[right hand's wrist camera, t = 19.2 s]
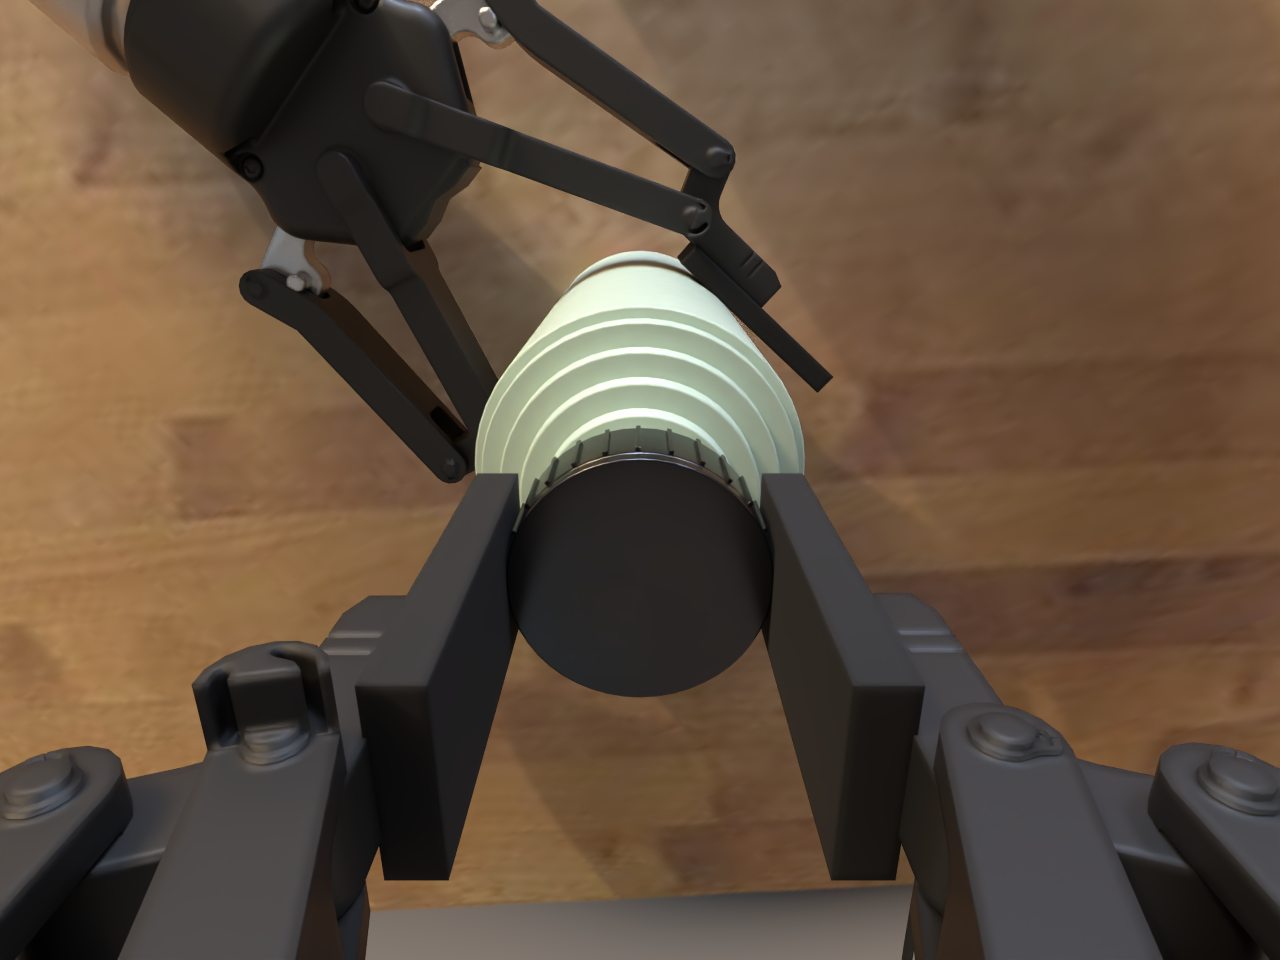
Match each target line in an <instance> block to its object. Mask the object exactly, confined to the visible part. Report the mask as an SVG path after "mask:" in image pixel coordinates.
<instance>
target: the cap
mask: <svg viewBox="0 0 1280 960" xmlns="http://www.w3.org/2000/svg"><path fill="white" fill-rule="evenodd" d="M765 532H768V530H767V527H766V525H765V522H764V520H763V517H762V514H761V512H760V509H759V506H758V504H757V501H756V500H755V501H753V500H752V497H751V494H750V492H749V489H748V486H747V483H746V481H745V478H744V477H743V476H741V477H739V475H738V474H737V473H736V471H735V470H734V469H733V468H732V467H731V466H730V465H729V464H728V463H727V460H726V457H725V456H724V455H723V454H722V455H721V456H719V455H718V454H717V453H716V452H714V451H713V450H711V449H710V448H708V447H706V446H705V445H703V444H702V443H701V440H700V439H698V438H696V440H693V439H691V438H689V437H686V436H683V435H680V434H677V433H674V432H672V429H668V428H667V431H665V430H660V429H650V428H641V426H640V425H639V426H636V428H629V429H620V430H615V431H610V429H607V430H605V433H603V434H599V435H596V436H593V437H591V438H589V439H587V440H584V441H581V440H578V441H577V442H576V445H575V446H573V447H572V448H570V449H569V450H567V451H566V452H564V453H563V454H562V455H560V456H559V457H558V458H557V457H556V456H555V457H554V458H552V461H551V464H550V466H549V467H548V468H547V469H546V470H545V471H544V472H543V474H542V475H541V476H540V478H539V479H537V478H535V479H534V481H533V484H532V486H531V489H530V492H529V494H528V497H527V500H526V502H525V503H522V506H521V508H520V511H519V514H518V516H517V519H516V522H515V524H514V527H513V530H512V532H511V535H514V537H513V540H512V544H511V547H510V550H509V553H508V560H507V566H506V582H507V594H508V601H509V604H510V608H511V611H512V615H513V617H514V619H515V621H516V624H517V626H518V628H519V630H520V632H521V633H522V635H523V636H524V638H525V639H526V641H527V643H528V644H529V645H530V646H531V648H532V649H533V650H534V651H535V652H536V653H537V655H538V656H539V657H540V658H542V659H543V660H544V661H545V662H546V663H547V664H548V665H549V666H550V667H552V668H553V669H555V670H556V671H557V672H559V673H560V674H561V675H563V676H565V677H567V678H568V679H570V680H572V681H574V682H576V683H578V684H580V685H583V686H585V687H588V688H590V689H593V690H596V691H600V692H603V693H607V694H613V695H619V696H627V697H653V696H661V695H667V694H673V693H676V692H680V691H683V690H687V689H690V688H692V687H695V686H697V685H700V684H702V683H704V682H706V681H708V680H710V679H711V678H713V677H715V676H717V675H718V674H720V673H721V672H722V671H724V670H725V669H727V668H728V667H729V666H731V665H732V664H733V663H734V662H735V661H736V660H737V659H738V658H739V657H740V656H741V655H742V654H743V653H744V652H745V651H746V650H747V648H748V647H749V646H750V645H751V644H752V642H753V641H754V639H755V638H756V636H757V634H758V633H759V631H760V630H761V628H762V625H763V623H764V621H765V619H766V616H767V614H768V610H769V607H770V604H771V600H772V593H773V579H774V568H773V561H772V555H771V551H770V548H769V544H768V541H767V538H766V535H765Z"/></svg>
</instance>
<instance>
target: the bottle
mask: <svg viewBox="0 0 1280 960" xmlns="http://www.w3.org/2000/svg"><path fill="white" fill-rule="evenodd" d="M639 425H640V426H641V428H650V429H660V430H665V431H667V428H668V429H672V432H674V433H677V434H680V435H683V436H686V437H689V438H691V439H693V440H696V438H698V439H700V440H701V443H702V444H703V445H705V446H706V447H708V448H710V449H711V450H713V451H714V452H716V453H717V454H718V455H719V456H721V455H722V454H723V455H724V456H725V457H726V460H727V463H728V464H729V465H730V466H731V467H732V468H733V469H734V470H735V471H736V473H737V474H738V475H739V477H741V476H743V477H744V478H745V481H746V483H747V486H748V489H749V492H750V494H751V497H752V500H753V501H755V500H756V501H757V504H758V506H759V509H760V495H761V478H762V473H803V475H804V467H805V454H804V441H803V435H802V431H801V426H800V422H799V418H798V415H797V413H796V410H795V407H794V405H793V402H792V399H791V398H790V396H789V394H788V392H787V390H786V388H785V386H784V385H783V383H782V381H781V380H780V378H779V377H778V376H777V374H776V373H775V371H774V370H773V369H772V367H771V366H770V365H769V363H768V362H767V361H766V359H765V358H764V357H763V355H762V354H761V353H760V351H759V350H758V349H757V347H756V346H755V345H754V343H753V342H752V341H751V339H750V338H749V337H748V335H747V334H746V333H745V331H744V330H743V329H742V327H741V326H740V325H739V323H738V322H737V321H736V319H735V318H734V317H733V315H732V314H731V313H730V311H729V310H728V309H727V307H726V306H725V305H724V304H723V303H722V302H721V301H720V300H719V299H718V298H717V297H716V296H715V295H714V294H713V293H712V292H711V291H709V290H708V289H707V288H706V287H705V286H704V285H703V284H702V283H701V282H700V281H699V280H698V279H697V278H696V277H695V276H694V275H693V274H691V273H690V272H689V271H688V270H687V269H686V268H685V267H684V266H683V265H682V264H681V263H680V261H679V260H678V259H675V258H673V257H670V256H668V255H664V254H660V253H656V252H648V251H631V252H625V253H619V254H616V255H612V256H609V257H607V258H605V259H602V260H600V261H598V262H596V263H595V264H593V265H592V266H590V267H588V268H587V269H586V270H585V271H583V272H582V273H581V274H580V275H579V276H578V277H577V278H576V279H575V280H574V281H573V282H572V283H571V284H570V286H569V287H568V288H567V290H566V291H565V292H564V294H563V295H562V296H561V298H560V299H559V300H558V302H557V303H556V304H555V306H554V307H553V308H552V310H551V311H550V312H549V314H548V315H547V316H546V318H545V319H544V320H543V322H542V323H541V324H540V326H539V327H538V328H537V330H536V331H535V332H534V334H533V335H532V336H531V337H530V339H529V340H528V341H527V343H526V344H525V345H524V347H523V348H522V349H521V351H520V352H519V353H518V355H517V356H516V357H515V359H514V360H513V361H512V363H511V364H510V365H509V367H508V368H507V370H506V371H505V372H504V374H503V375H502V377H501V378H500V380H499V381H498V383H497V384H496V386H495V388H494V390H493V392H492V394H491V396H490V398H489V400H488V402H487V403H486V406H485V409H484V412H483V415H482V418H481V421H480V424H479V430H478V435H477V440H476V450H475V471H476V475H477V473H518V479H519V496H520V508H521V506H522V503H525V502H526V500H527V497H528V494H529V492H530V489H531V486H532V484H533V481H534V479H535V478H537V479H539V478H540V476H541V475H542V474H543V472H544V471H545V470H546V469H547V468H548V467H549V466H550V464H551V461H552V458H554V457H555V456H556V457H557V458H558V457H559V456H560V455H562V454H563V453H564V452H566V451H567V450H569V449H570V448H572V447H573V446H575V445H576V442H577V441H578V440H581V441H584V440H587V439H589V438H591V437H593V436H596V435H599V434H603V433H605V430H607V429H610V431H615V430H620V429H629V428H636V426H639Z"/></svg>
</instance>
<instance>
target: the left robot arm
mask: <svg viewBox="0 0 1280 960" xmlns="http://www.w3.org/2000/svg"><path fill="white" fill-rule="evenodd" d="M29 1H30V2H31V3H33V4H34V5H35V6H36V7H37V8H39V9H40V10H41V11H42V12H43V13H44V14H46V15H47V16H48V17H49V18H50V19H52V20H53V21H54V22H55V23H56V24H58V25H59V26H60V27H61V28H62V29H63V30H65V31H66V32H67V33H68V34H69V35H71V36H72V37H73V38H74V39H75V40H76V41H78V42H79V43H80V44H81V45H82V46H84V47H85V48H86V49H87V50H88V51H90V52H91V53H92V54H93V55H94V56H95V57H97V58H98V59H99V60H100V61H101V62H103V63H104V64H105V65H106V66H107V67H109V68H110V69H111V70H112V71H115V72H117V73H120V74H122V75H125V76H130V77H131V80H132V82H133V84H134V86H135V87H136V89H137V90H138V91H139V92H140V93H141V94H142V95H143V96H144V97H145V98H146V99H148V100H149V101H150V102H151V103H152V104H154V105H155V106H156V107H157V108H158V109H160V110H161V111H162V112H163V113H164V114H166V115H167V116H168V117H169V118H170V119H172V120H173V121H174V122H175V123H176V124H178V125H179V126H180V127H181V128H182V129H184V130H185V131H186V132H187V133H188V134H190V135H191V136H192V137H193V138H194V139H196V140H197V141H198V142H199V143H200V144H202V145H203V146H204V147H205V148H206V149H208V150H209V151H210V152H211V153H212V154H214V155H215V156H216V157H217V158H218V159H220V160H221V161H222V162H223V163H224V164H226V165H227V166H228V167H229V168H231V169H232V170H233V171H234V172H236V173H237V174H238V175H240V176H241V177H242V178H243V179H245V180H246V181H247V182H248V183H250V184H251V185H252V186H253V187H254V188H255V190H256V191H257V192H258V194H259V195H260V196H261V198H262V199H263V201H264V203H265V205H266V207H267V209H268V211H269V213H270V215H271V217H272V219H273V220H274V222H275V223H276V224H277V228H276V230H275V232H274V235H273V237H272V240H271V242H270V244H269V247H268V249H267V251H266V254H265V256H264V259H263V261H262V263H261V266H260V267H259V269H256V270H251V271H248V272H246V273H244V274H243V276H242V277H241V278H240V282H239V289H240V293H241V295H242V296H243V298H244V300H246V301H247V302H248V303H249V304H251V305H253V306H254V307H256V308H258V309H260V310H262V311H263V312H265V313H267V314H269V315H271V316H272V317H274V318H276V319H278V320H280V321H281V322H283V323H285V324H287V325H288V326H290V327H292V328H294V329H296V330H297V331H298V332H299V333H300V334H301V335H302V336H303V337H304V338H305V339H306V340H307V341H308V342H309V343H310V344H311V345H312V346H313V348H314V349H315V350H316V351H317V352H318V353H319V354H320V355H321V356H322V357H323V358H324V359H325V360H326V361H327V362H328V363H329V364H330V365H331V366H332V367H333V368H334V370H335V371H336V372H337V373H338V374H339V375H340V376H341V377H342V378H343V379H344V380H345V381H346V382H347V383H348V384H349V385H350V386H351V387H352V388H353V389H354V391H355V392H356V393H357V394H358V395H359V396H360V397H361V398H362V399H363V400H364V401H365V402H366V403H367V404H368V405H369V406H370V407H371V408H372V409H373V410H374V411H375V413H376V414H377V415H378V416H379V417H380V418H381V419H382V420H383V421H384V422H385V423H386V424H387V425H388V426H389V427H390V428H391V429H392V430H393V431H394V432H395V433H396V435H397V436H398V437H399V438H400V439H401V440H402V441H403V442H404V443H405V444H406V445H407V446H408V447H409V448H410V449H411V450H412V451H413V452H414V453H415V454H416V455H417V457H418V458H419V459H420V460H421V461H422V462H423V463H424V464H425V465H426V466H427V467H428V468H429V469H430V470H431V471H432V472H433V473H434V474H435V475H436V476H437V478H439V479H440V480H441V481H443V482H446V483H456V482H458V481H460V480H462V478H463V477H464V476H465V475H466V474H468V473H470V472H472V471H474V470H475V450H476V440H477V435H478V430H479V424H480V421H481V418H482V415H483V412H484V409H485V406H486V403H487V402H488V400H489V398H490V396H491V394H492V392H493V390H494V388H495V386H496V384H497V383H498V379H497V377H496V375H495V373H494V371H493V370H492V368H491V366H490V364H489V362H488V360H487V358H486V357H485V355H484V353H483V351H482V349H481V347H480V346H479V344H478V342H477V340H476V338H475V336H474V334H473V333H472V331H471V329H470V327H469V325H468V323H467V321H466V320H465V318H464V316H463V314H462V312H461V310H460V309H459V307H458V305H457V303H456V301H455V299H454V297H453V296H452V294H451V292H450V290H449V288H448V286H447V285H446V283H445V281H444V279H443V277H442V275H441V273H440V271H439V268H438V262H437V259H436V257H435V255H434V253H433V251H432V249H431V247H430V246H429V244H428V242H427V240H426V238H428V237H429V236H430V235H431V234H432V232H433V231H434V230H435V228H436V227H437V226H438V224H439V223H440V222H441V220H442V217H443V215H444V212H445V210H446V207H447V205H448V202H449V200H450V199H451V198H452V197H453V196H455V195H456V194H458V193H459V192H460V191H462V190H463V189H464V188H466V187H467V186H468V185H469V184H470V183H471V181H472V180H473V179H474V177H475V176H476V175H477V174H478V172H479V171H480V170H481V167H480V166H479V164H480V162H483V163H486V164H488V165H491V166H494V167H497V168H500V169H503V170H506V171H509V172H512V173H515V174H517V175H520V176H523V177H526V178H528V179H531V180H534V181H537V182H539V183H542V184H545V185H548V186H550V187H553V188H556V189H559V190H561V191H564V192H567V193H570V194H572V195H575V196H578V197H581V198H583V199H586V200H589V201H592V202H595V203H597V204H600V205H603V206H606V207H608V208H611V209H614V210H617V211H619V212H622V213H625V214H628V215H630V216H633V217H636V218H639V219H641V220H644V221H647V222H650V223H652V224H655V225H658V226H661V227H663V228H666V229H669V230H672V231H674V232H677V233H680V234H683V235H684V236H685V237H686V238H687V239H688V240H689V241H690V243H689V244H688V245H687V246H686V248H685V249H684V250H683V251H682V252H681V253H680V254H679V255H678V257H677V258H678V259H679V261H680V263H681V264H682V265H683V266H684V267H685V268H686V269H687V270H688V271H689V272H690V273H691V274H693V275H694V276H695V277H696V278H697V279H698V280H699V281H700V282H701V283H702V284H703V285H704V286H705V287H706V288H707V289H708V290H709V291H711V292H712V293H713V294H714V295H715V296H716V297H717V298H718V299H719V300H720V301H721V302H722V303H723V304H724V305H725V306H726V307H727V308H728V309H730V310H731V311H732V312H733V313H734V314H735V315H736V316H737V317H738V318H739V319H740V320H741V321H742V322H743V323H744V324H745V325H746V326H747V327H749V328H750V329H751V330H752V331H753V332H754V333H755V334H756V335H757V336H758V337H759V338H760V339H761V340H762V341H763V342H764V343H765V344H766V345H768V346H769V347H770V348H771V349H772V350H773V351H774V352H775V353H776V354H777V355H778V356H779V357H780V358H781V359H782V360H783V361H784V362H785V363H787V364H788V365H789V366H790V367H791V368H792V369H793V370H794V371H795V372H796V373H797V374H798V375H799V376H800V377H801V378H802V379H803V380H805V381H806V382H807V383H808V384H809V385H810V386H811V387H812V388H813V389H814V390H815V391H816V392H817V393H818V392H819V391H820V390H821V389H822V388H823V387H824V386H825V385H826V384H827V383H828V382H829V381H830V380H831V379H832V378H833V376H832V375H831V374H830V373H829V372H828V371H827V370H825V369H824V368H823V367H822V366H821V365H820V364H819V363H818V362H817V361H816V360H815V359H814V358H813V357H812V356H811V355H810V354H809V353H808V352H807V351H806V350H805V349H804V348H803V347H802V346H800V345H799V344H798V343H797V342H796V341H795V340H794V339H793V338H792V337H791V336H790V335H789V334H788V333H787V332H786V331H785V330H784V329H783V328H782V327H781V326H780V325H779V324H778V323H777V322H775V321H774V320H773V319H772V318H771V317H770V316H769V315H768V314H767V313H766V312H765V311H764V310H763V309H762V307H763V306H764V305H765V304H766V303H767V301H768V300H769V299H770V298H771V297H772V296H773V295H774V294H775V293H776V292H777V291H778V290H779V289H780V288H781V285H780V282H779V280H778V277H777V275H776V273H775V271H774V270H773V269H772V268H771V267H770V266H769V265H768V264H766V263H765V262H764V261H763V260H762V259H761V258H760V257H759V256H758V255H757V254H756V253H755V252H754V251H753V250H752V249H751V248H750V247H749V246H748V245H747V244H746V243H745V242H744V241H743V240H742V239H741V238H740V237H739V236H738V235H737V234H736V233H735V232H734V231H733V230H732V229H731V228H730V227H729V226H728V225H727V224H726V223H725V222H724V221H723V219H722V217H721V215H720V212H719V199H720V196H721V193H722V191H723V188H724V186H725V183H726V181H727V178H728V176H729V174H730V172H731V170H732V169H733V167H734V164H735V159H736V154H735V151H734V148H733V146H732V145H731V144H730V143H729V142H728V141H727V140H726V139H724V138H723V137H722V136H720V135H719V134H717V133H716V132H715V131H713V130H712V129H710V128H709V127H708V126H706V125H705V124H704V123H702V122H701V121H699V120H698V119H697V118H695V117H694V116H692V115H691V114H690V113H688V112H687V111H685V110H684V109H683V108H681V107H680V106H678V105H677V104H676V103H674V102H673V101H672V100H670V99H669V98H667V97H666V96H665V95H663V94H662V93H660V92H659V91H658V90H656V89H655V88H653V87H652V86H651V85H649V84H648V83H647V82H645V81H644V80H642V79H641V78H640V77H638V76H637V75H635V74H634V73H633V72H631V71H630V70H628V69H627V68H626V67H624V66H623V65H621V64H620V63H619V62H617V61H616V60H615V59H613V58H612V57H610V56H609V55H608V54H606V53H605V52H603V51H602V50H601V49H599V48H598V47H596V46H595V45H594V44H592V43H591V42H590V41H588V40H587V39H585V38H584V37H583V36H581V35H580V34H578V33H577V32H576V31H574V30H573V29H571V28H570V27H569V26H567V25H566V24H565V23H563V22H562V21H560V20H559V19H558V18H556V17H555V16H553V15H552V14H551V13H549V12H548V11H546V10H545V9H544V8H542V7H541V6H539V5H538V3H537V2H536V1H535V0H437V1H436V2H435V3H434V4H433V5H432V6H431V7H430V8H429V7H427V6H425V5H423V4H420V3H417V2H412V1H408V0H29ZM469 36H470V37H476V38H479V39H481V40H482V41H483V42H484V43H486V44H487V45H488V46H489V47H491V48H494V49H503V48H506V47H507V46H509V45H510V44H511V43H513V42H514V41H516V42H517V43H518V44H519V46H520V47H521V48H522V49H523V50H524V51H525V52H526V53H527V54H528V55H530V56H531V57H532V58H533V59H534V60H536V61H537V62H538V63H539V64H541V65H542V66H543V67H545V68H546V69H548V70H549V71H550V72H552V73H553V74H555V75H556V76H558V77H559V78H560V79H562V80H563V81H565V82H566V83H567V84H569V85H570V86H572V87H573V88H575V89H576V90H577V91H579V92H580V93H582V94H583V95H585V96H586V97H587V98H589V99H590V100H592V101H593V102H595V103H596V104H597V105H599V106H600V107H602V108H603V109H604V110H606V111H607V112H609V113H610V114H612V115H613V116H614V117H616V118H617V119H619V120H620V121H622V122H623V123H624V124H626V125H627V126H629V127H630V128H632V129H633V130H634V131H636V132H637V133H639V134H640V135H641V136H643V137H644V138H646V139H647V140H649V141H650V142H651V143H653V144H654V145H656V146H657V147H659V148H660V149H661V150H663V151H664V152H666V153H667V154H669V155H670V156H671V157H673V158H674V159H676V160H677V161H678V162H680V163H681V164H683V165H684V166H686V167H687V168H688V169H689V171H688V173H687V176H686V179H685V181H684V184H683V186H682V189H681V191H677V190H674V189H671V188H669V187H666V186H663V185H661V184H658V183H655V182H652V181H650V180H647V179H644V178H642V177H639V176H636V175H634V174H631V173H628V172H625V171H623V170H620V169H617V168H615V167H612V166H609V165H606V164H604V163H601V162H598V161H596V160H593V159H590V158H588V157H585V156H582V155H579V154H577V153H574V152H571V151H569V150H566V149H563V148H560V147H558V146H555V145H552V144H550V143H547V142H544V141H542V140H539V139H536V138H533V137H531V136H528V135H525V134H523V133H520V132H517V131H515V130H512V129H509V128H507V127H504V126H502V125H499V124H496V123H494V122H491V121H488V120H486V119H483V118H480V117H477V116H476V112H475V108H474V104H473V101H472V97H471V93H470V89H469V85H468V81H467V78H466V74H465V70H464V66H463V62H462V58H461V55H460V51H459V47H458V43H457V42H458V41H459V40H461V39H462V38H465V37H469ZM315 241H321V242H330V243H340V244H349V245H357V246H358V247H359V249H360V251H361V253H362V254H363V256H364V258H365V260H366V261H367V263H368V265H369V267H370V268H371V270H372V272H373V274H374V275H375V277H376V279H377V280H378V282H379V283H380V285H381V286H382V287H383V288H384V289H386V290H387V291H388V292H389V293H390V294H391V296H392V297H393V299H394V301H395V302H396V304H397V306H398V308H399V309H400V311H401V313H402V315H403V316H404V318H405V320H406V322H407V323H408V325H409V327H410V329H411V330H412V332H413V334H414V336H415V338H416V339H417V341H418V343H419V345H420V346H421V348H422V350H423V352H424V353H425V355H426V357H427V359H428V360H429V362H430V364H431V366H432V367H433V369H434V371H435V373H436V374H437V376H438V378H439V380H440V382H441V383H442V385H443V387H444V389H445V390H446V392H447V394H448V396H449V397H450V399H451V401H452V403H453V404H454V406H455V408H456V410H457V411H458V413H459V415H460V417H461V418H462V420H463V422H464V424H465V426H466V427H467V429H468V430H467V429H466V428H465V427H464V426H463V425H462V423H461V422H460V421H459V420H458V419H457V418H456V417H455V416H454V415H453V414H452V413H451V411H450V410H449V409H448V408H447V407H446V406H445V405H444V404H443V403H442V402H441V401H440V400H439V398H438V397H437V396H436V395H435V394H434V393H433V392H432V391H431V390H430V389H429V388H428V386H427V385H426V384H425V383H424V382H423V381H422V380H421V379H420V378H419V377H418V376H417V374H416V373H415V372H414V371H413V370H412V369H411V368H410V367H409V366H408V365H407V364H406V362H405V361H404V360H403V359H402V358H401V357H400V356H399V355H398V354H397V353H396V352H395V351H394V349H393V348H392V347H391V346H390V345H389V344H388V343H387V342H386V341H385V340H384V339H383V337H382V336H381V335H380V334H379V333H378V332H377V331H376V330H375V329H374V328H373V327H372V325H371V324H370V323H369V322H368V321H367V320H366V319H365V318H364V317H363V316H362V315H361V313H360V312H359V311H358V310H357V309H356V308H355V307H354V306H353V305H352V304H351V303H350V302H349V301H348V300H347V299H345V298H344V297H343V296H342V295H340V294H339V293H338V292H337V291H335V290H334V289H332V288H331V287H330V285H331V276H330V273H329V271H328V270H327V268H326V267H325V266H324V265H323V264H322V263H321V262H319V260H318V259H317V257H316V255H315V252H314V243H315Z"/></svg>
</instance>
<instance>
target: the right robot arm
mask: <svg viewBox="0 0 1280 960" xmlns="http://www.w3.org/2000/svg"><path fill="white" fill-rule="evenodd" d="M519 511H520V496H519V479H518V473H477V475H476V477H475V478H474V480H473V482H472V483H471V485H470V487H469V489H468V490H467V492H466V494H465V496H464V497H463V499H462V501H461V502H460V504H459V506H458V508H457V509H456V511H455V513H454V515H453V516H452V518H451V520H450V521H449V523H448V525H447V527H446V528H445V530H444V532H443V534H442V535H441V537H440V539H439V541H438V542H437V544H436V546H435V547H434V549H433V551H432V553H431V554H430V556H429V558H428V560H427V561H426V563H425V565H424V566H423V568H422V570H421V572H420V573H419V575H418V577H417V579H416V580H415V582H414V584H413V585H412V587H411V589H410V591H409V592H408V594H407V596H368V597H367V598H365V599H364V600H362V601H361V602H359V603H358V604H356V605H355V606H353V607H352V608H350V609H349V610H347V611H346V612H344V613H343V614H342V616H341V617H340V619H339V620H338V621H337V623H336V624H335V626H334V627H333V629H332V630H331V631H330V633H329V638H325V640H324V641H323V643H322V644H321V646H320V647H318V646H317V645H312V644H308V643H304V642H300V641H277V642H270V643H265V644H261V645H256V646H251V647H248V648H245V649H243V650H240V651H237V652H235V653H232V654H230V655H227V656H225V657H223V658H222V659H220V660H218V661H217V662H215V663H214V664H212V665H211V666H209V667H208V668H206V669H204V670H203V672H202V673H201V674H200V675H199V676H198V677H197V679H196V680H195V681H194V682H193V683H192V688H193V692H194V696H195V700H196V705H197V709H198V713H199V717H200V721H201V725H202V729H203V733H204V738H205V742H206V746H207V750H208V751H207V753H206V756H205V758H204V760H203V762H200V763H197V764H193V765H190V766H186V767H182V768H177V769H173V770H168V771H163V772H159V773H154V774H149V775H144V776H140V777H135V778H130V779H126V777H125V773H124V770H123V766H122V763H121V760H120V758H119V757H118V756H116V755H115V754H114V753H113V752H112V751H110V750H109V749H104V748H98V747H92V746H83V747H74V748H65V749H59V750H56V751H51V752H48V753H46V754H41V755H38V756H35V757H32V758H29V759H27V760H26V761H24V762H22V763H20V764H18V765H16V766H14V767H12V768H10V769H8V770H5V771H3V772H1V773H0V960H365V956H366V946H367V937H368V928H369V919H370V906H369V899H368V892H367V886H366V877H367V875H368V872H369V870H370V867H371V865H372V862H373V860H374V857H375V855H376V852H377V850H378V847H379V848H380V855H381V861H382V868H383V874H384V880H449V877H450V873H451V870H452V866H453V863H454V859H455V855H456V852H457V848H458V845H459V841H460V838H461V834H462V830H463V827H464V823H465V820H466V816H467V812H468V809H469V805H470V802H471V798H472V794H473V791H474V787H475V784H476V780H477V776H478V773H479V769H480V766H481V762H482V758H483V755H484V751H485V748H486V744H487V740H488V737H489V733H490V730H491V726H492V722H493V719H494V715H495V712H496V708H497V704H498V701H499V697H500V694H501V690H502V686H503V683H504V679H505V676H506V672H507V668H508V665H509V661H510V658H511V654H512V650H513V647H514V643H515V640H516V636H517V632H518V629H519V628H518V626H517V624H516V621H515V619H514V617H513V615H512V611H511V608H510V604H509V601H508V594H507V582H506V566H507V560H508V553H509V550H510V547H511V544H512V540H513V537H514V535H511V532H512V530H513V527H514V524H515V522H516V519H517V516H518V514H519ZM760 512H761V514H762V517H763V520H764V522H765V525H766V527H767V530H768V532H765V535H766V538H767V541H768V544H769V548H770V551H771V555H772V561H773V568H774V579H773V593H772V600H771V604H770V607H769V610H768V614H767V616H766V619H765V621H764V623H763V625H762V628H761V629H762V633H763V636H764V640H765V644H766V647H767V651H768V654H769V658H770V662H771V665H772V669H773V672H774V676H775V680H776V683H777V687H778V690H779V694H780V698H781V701H782V705H783V708H784V712H785V716H786V719H787V723H788V726H789V730H790V733H791V737H792V741H793V744H794V748H795V751H796V755H797V759H798V762H799V766H800V769H801V773H802V777H803V780H804V784H805V787H806V791H807V795H808V798H809V802H810V805H811V809H812V813H813V816H814V820H815V823H816V827H817V831H818V834H819V838H820V841H821V845H822V849H823V852H824V856H825V859H826V863H827V867H828V870H829V874H830V877H831V880H896V873H897V867H898V861H899V854H900V848H901V843H902V846H903V848H904V851H905V853H906V856H907V858H908V861H909V863H910V866H911V868H912V871H913V873H914V876H915V880H914V886H913V893H912V899H911V904H910V910H909V916H908V923H907V929H906V935H905V941H904V947H903V954H902V960H912V959H913V953H914V954H915V960H1280V769H1279V768H1277V767H1275V766H1273V765H1270V764H1268V763H1266V762H1264V761H1262V760H1260V759H1258V758H1256V757H1255V756H1253V755H1250V754H1248V753H1245V752H1242V751H1239V750H1237V751H1236V750H1233V749H1232V748H1228V747H1223V746H1220V745H1211V744H1202V743H1193V742H1192V743H1186V744H1180V745H1174V746H1171V747H1170V748H1169V749H1168V750H1166V751H1165V752H1164V753H1163V754H1162V755H1161V756H1160V759H1159V763H1158V766H1157V769H1156V773H1155V776H1152V775H1147V774H1142V773H1137V772H1133V771H1128V770H1123V769H1118V768H1114V767H1109V766H1104V765H1099V764H1095V763H1092V762H1088V761H1084V760H1081V759H1077V758H1076V757H1075V754H1074V752H1073V750H1072V748H1071V747H1070V746H1069V744H1068V743H1067V741H1066V740H1065V739H1064V737H1063V736H1062V735H1061V733H1059V732H1058V731H1057V730H1055V729H1054V728H1053V727H1051V726H1050V725H1049V724H1047V723H1046V722H1045V721H1043V720H1042V719H1040V718H1038V717H1035V716H1033V715H1031V714H1029V713H1027V712H1024V711H1022V710H1020V709H1017V708H1013V707H1009V706H1005V705H1004V704H1003V703H1002V702H1001V700H1000V699H999V697H998V696H997V695H996V693H995V692H994V690H993V689H992V687H991V686H990V685H989V683H988V682H987V680H986V679H985V678H984V676H983V675H982V673H981V672H980V671H979V669H978V668H977V666H976V665H975V664H974V662H973V661H972V659H971V658H970V656H969V655H968V654H967V653H964V648H963V647H962V645H961V644H960V642H959V641H958V640H957V638H956V637H955V635H952V633H951V632H952V631H951V630H950V628H949V627H948V625H947V624H946V623H945V621H944V620H943V618H942V617H941V616H940V614H939V613H938V611H937V610H935V609H934V608H932V607H931V606H929V605H928V604H926V603H925V602H923V601H922V600H920V599H919V598H917V597H916V596H914V595H913V594H911V593H871V591H870V589H869V587H868V586H867V584H866V582H865V580H864V579H863V577H862V575H861V574H860V572H859V570H858V568H857V567H856V565H855V563H854V561H853V560H852V558H851V556H850V554H849V553H848V551H847V549H846V548H845V546H844V544H843V542H842V541H841V539H840V537H839V535H838V534H837V532H836V530H835V529H834V527H833V525H832V523H831V522H830V520H829V518H828V516H827V515H826V513H825V511H824V510H823V508H822V506H821V504H820V503H819V501H818V499H817V497H816V496H815V494H814V492H813V491H812V489H811V487H810V485H809V484H808V482H807V480H806V478H805V477H804V475H803V473H762V478H761V495H760Z"/></svg>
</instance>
